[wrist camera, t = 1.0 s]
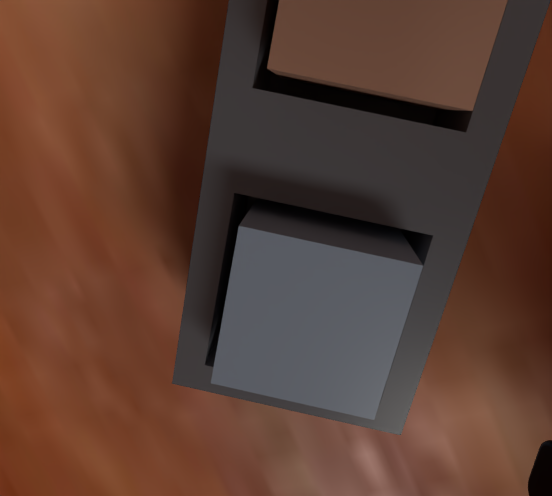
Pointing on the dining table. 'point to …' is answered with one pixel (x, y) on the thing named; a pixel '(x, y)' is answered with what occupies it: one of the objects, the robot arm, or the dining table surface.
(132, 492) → the dining table surface
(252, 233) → the slate blue button
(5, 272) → the dining table surface
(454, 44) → the terracotta button
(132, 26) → the dining table surface
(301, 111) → the button board
